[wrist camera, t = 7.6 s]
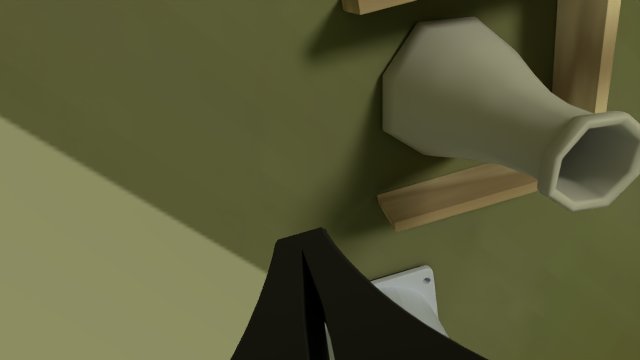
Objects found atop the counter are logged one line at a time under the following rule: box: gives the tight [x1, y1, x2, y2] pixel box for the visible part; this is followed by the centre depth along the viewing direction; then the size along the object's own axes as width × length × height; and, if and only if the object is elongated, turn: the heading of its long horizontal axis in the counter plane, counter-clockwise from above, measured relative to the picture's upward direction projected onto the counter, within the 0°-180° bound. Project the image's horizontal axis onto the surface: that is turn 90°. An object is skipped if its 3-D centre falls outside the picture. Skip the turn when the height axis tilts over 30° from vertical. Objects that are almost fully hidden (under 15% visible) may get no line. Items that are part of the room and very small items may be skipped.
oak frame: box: [342, 0, 621, 232], centre depth 19 cm, size 11×11×3 cm
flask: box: [383, 16, 640, 213], centre depth 16 cm, size 7×7×10 cm
